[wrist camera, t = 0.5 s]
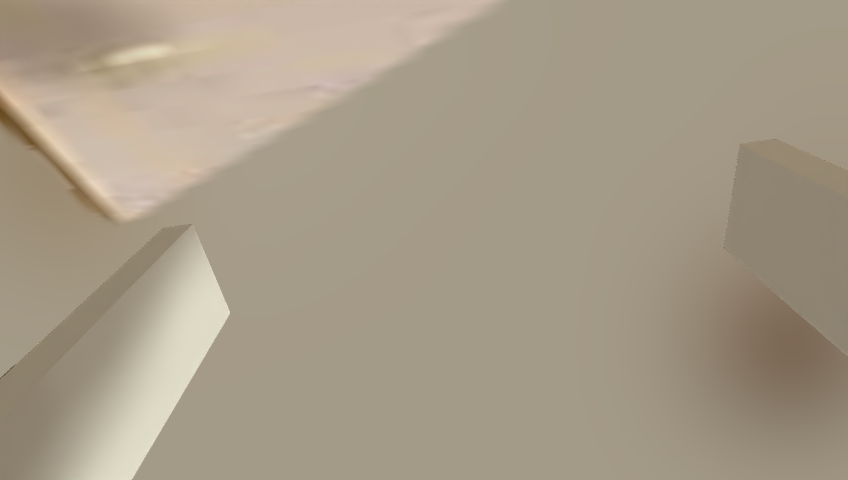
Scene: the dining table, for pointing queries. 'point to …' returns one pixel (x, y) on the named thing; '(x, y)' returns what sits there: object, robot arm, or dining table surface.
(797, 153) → the robot arm
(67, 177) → the dining table surface
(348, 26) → the dining table surface
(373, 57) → the dining table surface
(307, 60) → the dining table surface
